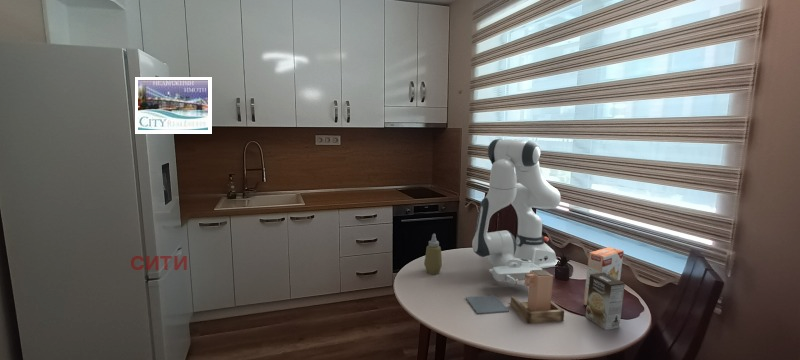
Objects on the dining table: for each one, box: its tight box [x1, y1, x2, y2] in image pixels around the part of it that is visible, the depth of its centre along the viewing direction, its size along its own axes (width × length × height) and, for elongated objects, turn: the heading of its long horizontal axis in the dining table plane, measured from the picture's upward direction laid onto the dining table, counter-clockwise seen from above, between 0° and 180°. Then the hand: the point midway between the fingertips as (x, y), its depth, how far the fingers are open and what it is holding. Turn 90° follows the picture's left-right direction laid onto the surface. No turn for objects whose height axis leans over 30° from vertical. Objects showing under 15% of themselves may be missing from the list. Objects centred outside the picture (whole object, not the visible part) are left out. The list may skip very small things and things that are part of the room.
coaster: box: [465, 294, 510, 315], centre depth 136 cm, size 12×12×1 cm
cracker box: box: [583, 246, 625, 306], centre depth 137 cm, size 14×6×21 cm, turn 122°
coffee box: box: [585, 272, 626, 331], centre depth 124 cm, size 9×6×16 cm
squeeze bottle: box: [424, 233, 443, 275], centre depth 165 cm, size 8×8×18 cm
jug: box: [524, 269, 554, 312], centre depth 131 cm, size 9×6×15 cm, turn 100°
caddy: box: [508, 296, 565, 324], centre depth 132 cm, size 13×14×4 cm
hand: (527, 281), depth 140 cm, fingers open, 8 cm apart
